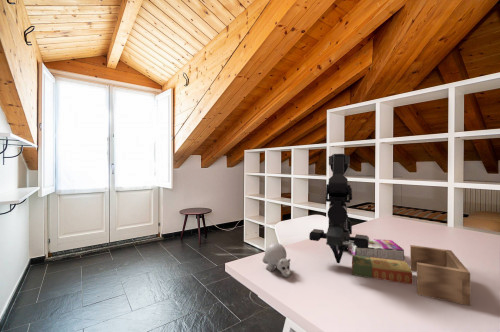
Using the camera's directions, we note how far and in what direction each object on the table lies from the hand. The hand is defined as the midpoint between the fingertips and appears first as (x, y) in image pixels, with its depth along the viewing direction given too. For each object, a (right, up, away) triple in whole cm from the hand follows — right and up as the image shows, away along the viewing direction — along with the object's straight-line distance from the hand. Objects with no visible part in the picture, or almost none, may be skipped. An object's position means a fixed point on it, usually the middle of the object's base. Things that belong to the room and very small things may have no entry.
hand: (338, 262), depth 81 cm
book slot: (+23, -1, -13) cm, 26 cm away
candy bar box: (+25, +1, +7) cm, 27 cm away
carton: (+11, -2, -6) cm, 13 cm away
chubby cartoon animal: (-21, -1, -4) cm, 22 cm away
